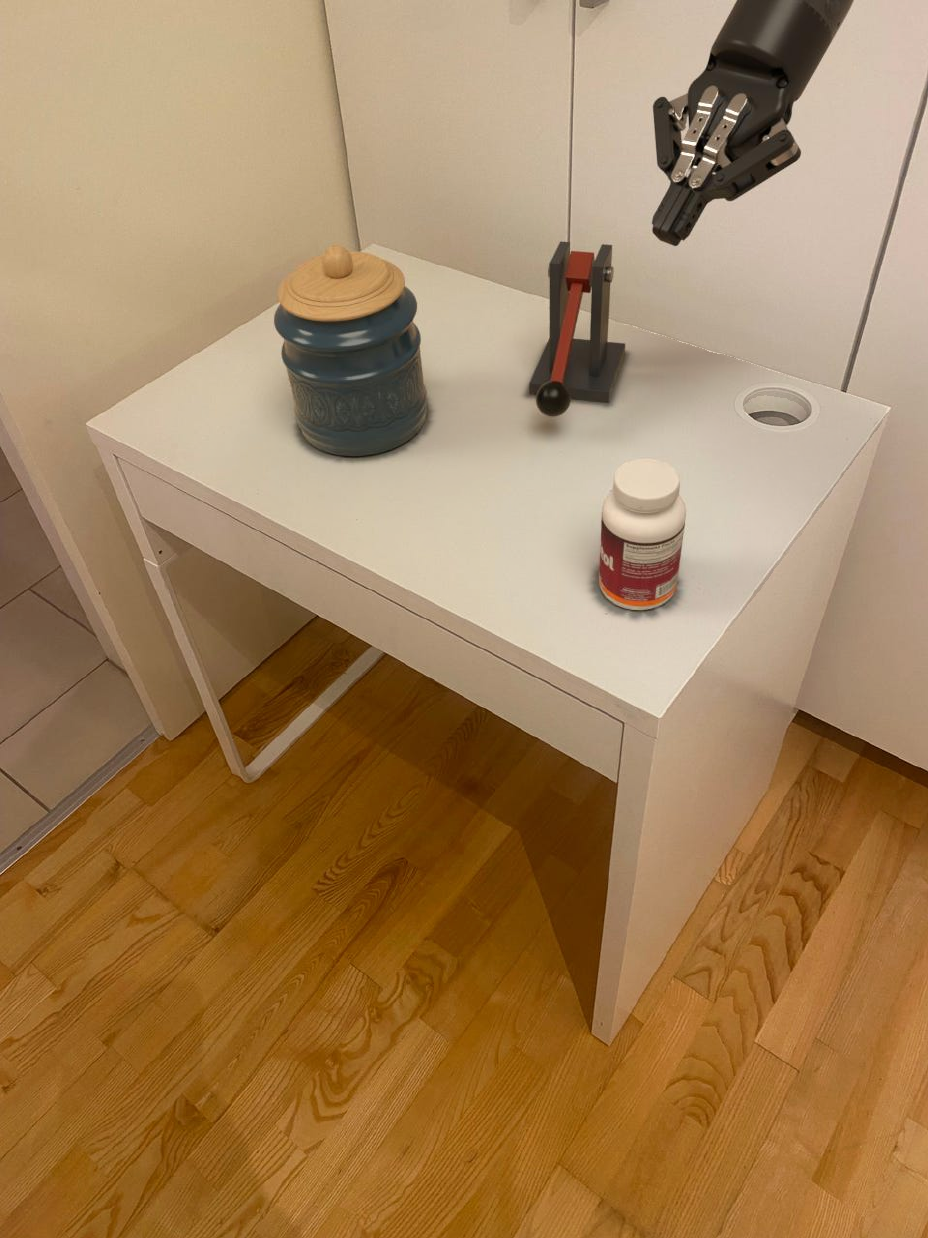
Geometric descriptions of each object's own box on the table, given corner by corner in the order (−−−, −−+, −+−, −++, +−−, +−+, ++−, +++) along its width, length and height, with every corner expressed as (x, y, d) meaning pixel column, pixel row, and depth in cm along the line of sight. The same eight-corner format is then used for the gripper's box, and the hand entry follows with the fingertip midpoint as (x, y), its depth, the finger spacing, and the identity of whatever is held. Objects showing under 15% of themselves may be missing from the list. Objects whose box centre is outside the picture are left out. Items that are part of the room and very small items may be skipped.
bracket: (608, 403, 94) (615, 280, 85) (529, 394, 96) (527, 273, 87) (624, 354, 100) (632, 234, 90) (550, 346, 102) (550, 228, 92)
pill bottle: (598, 558, 79) (604, 449, 71) (674, 560, 78) (689, 450, 70) (597, 612, 75) (602, 503, 67) (677, 615, 74) (693, 506, 66)
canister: (383, 368, 101) (359, 201, 88) (455, 422, 93) (440, 248, 80) (275, 416, 96) (233, 246, 83) (341, 477, 89) (306, 301, 76)
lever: (568, 424, 88) (565, 409, 85) (535, 420, 89) (530, 405, 86) (601, 269, 91) (599, 249, 88) (568, 267, 92) (565, 247, 89)
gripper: (880, 63, 69) (751, 286, 73) (731, 31, 76) (620, 235, 80) (855, -4, 63) (715, 243, 67) (695, -32, 70) (577, 193, 74)
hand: (663, 238), depth 73 cm, fingers closed
